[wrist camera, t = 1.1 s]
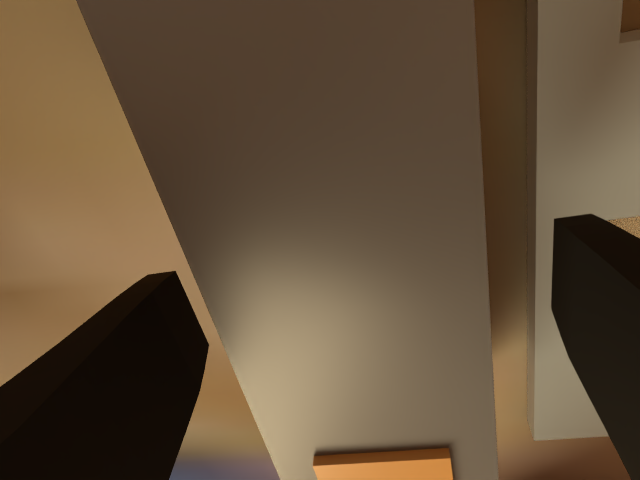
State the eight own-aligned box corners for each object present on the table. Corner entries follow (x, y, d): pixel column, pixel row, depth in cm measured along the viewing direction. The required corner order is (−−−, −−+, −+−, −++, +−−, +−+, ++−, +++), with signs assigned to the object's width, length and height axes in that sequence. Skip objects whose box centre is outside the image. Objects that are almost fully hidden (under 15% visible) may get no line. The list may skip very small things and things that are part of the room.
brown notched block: (461, 383, 16) (506, 600, 11) (340, 393, 17) (327, 600, 12) (409, -156, 9) (464, -273, 4) (201, -98, 10) (8, -128, 4)
